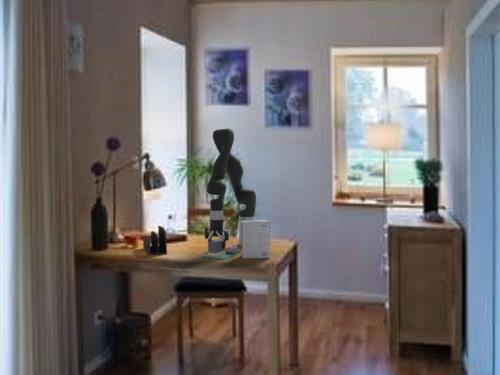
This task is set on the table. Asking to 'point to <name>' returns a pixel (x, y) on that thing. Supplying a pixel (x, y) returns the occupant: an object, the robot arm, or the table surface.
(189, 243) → the table surface
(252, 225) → the hard drive box
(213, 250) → the plug housing
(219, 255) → the pcb board
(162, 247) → the letter holder
